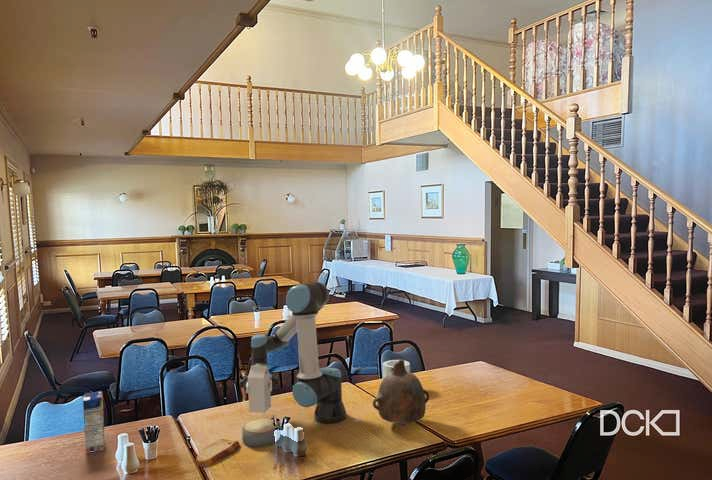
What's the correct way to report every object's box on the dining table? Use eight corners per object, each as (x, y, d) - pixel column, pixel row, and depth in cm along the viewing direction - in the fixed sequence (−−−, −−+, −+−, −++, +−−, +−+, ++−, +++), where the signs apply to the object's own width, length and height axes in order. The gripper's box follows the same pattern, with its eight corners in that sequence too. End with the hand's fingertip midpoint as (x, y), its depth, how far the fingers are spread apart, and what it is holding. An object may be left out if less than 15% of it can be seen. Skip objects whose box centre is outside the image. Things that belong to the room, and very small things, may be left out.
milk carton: (264, 413, 205) (263, 368, 205) (249, 412, 207) (247, 368, 206) (271, 407, 212) (269, 363, 212) (255, 406, 214) (254, 363, 213)
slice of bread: (196, 469, 185) (196, 459, 185) (193, 450, 202) (193, 441, 202) (244, 459, 192) (244, 450, 192) (237, 441, 209) (237, 433, 209)
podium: (287, 433, 214) (286, 420, 214) (268, 449, 199) (267, 434, 199) (255, 429, 220) (255, 416, 220) (235, 444, 205) (234, 430, 205)
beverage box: (85, 453, 202) (83, 401, 202) (87, 443, 212) (84, 393, 212) (104, 449, 205) (101, 397, 205) (104, 440, 215) (102, 390, 215)
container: (397, 397, 255) (396, 369, 254) (376, 390, 267) (375, 363, 266) (418, 389, 265) (417, 363, 265) (396, 383, 277) (395, 358, 277)
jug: (401, 411, 235) (398, 349, 234) (437, 422, 220) (435, 356, 219) (365, 427, 218) (363, 360, 217) (402, 440, 202) (400, 368, 202)
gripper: (283, 379, 229) (285, 395, 207) (236, 383, 225) (232, 400, 203) (283, 363, 229) (285, 377, 207) (235, 367, 225) (231, 382, 203)
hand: (259, 388), depth 205 cm, fingers closed on milk carton, 9 cm apart
